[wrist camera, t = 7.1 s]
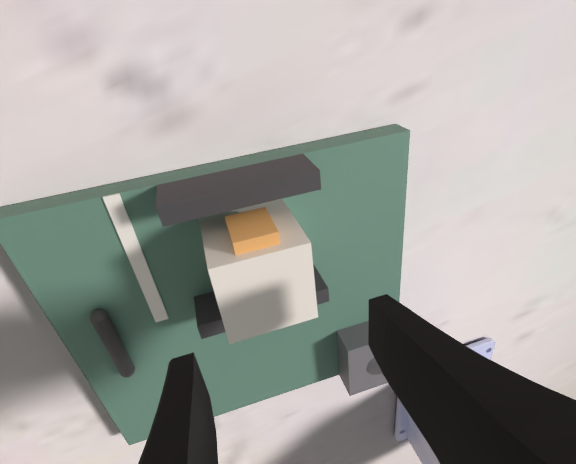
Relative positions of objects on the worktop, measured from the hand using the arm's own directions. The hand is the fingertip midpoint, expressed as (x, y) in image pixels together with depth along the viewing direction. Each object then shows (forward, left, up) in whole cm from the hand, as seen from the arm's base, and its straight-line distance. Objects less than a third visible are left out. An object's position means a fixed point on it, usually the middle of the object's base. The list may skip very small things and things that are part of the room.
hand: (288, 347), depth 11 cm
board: (-4, 0, -8) cm, 9 cm away
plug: (0, 0, -7) cm, 7 cm away
